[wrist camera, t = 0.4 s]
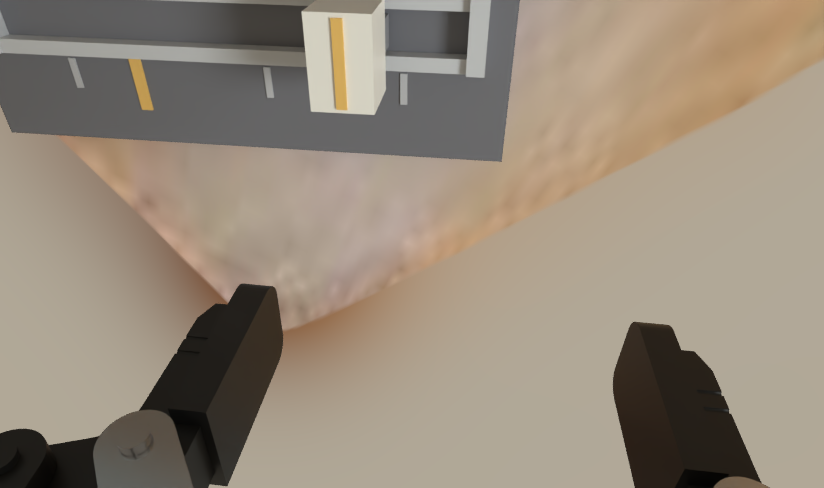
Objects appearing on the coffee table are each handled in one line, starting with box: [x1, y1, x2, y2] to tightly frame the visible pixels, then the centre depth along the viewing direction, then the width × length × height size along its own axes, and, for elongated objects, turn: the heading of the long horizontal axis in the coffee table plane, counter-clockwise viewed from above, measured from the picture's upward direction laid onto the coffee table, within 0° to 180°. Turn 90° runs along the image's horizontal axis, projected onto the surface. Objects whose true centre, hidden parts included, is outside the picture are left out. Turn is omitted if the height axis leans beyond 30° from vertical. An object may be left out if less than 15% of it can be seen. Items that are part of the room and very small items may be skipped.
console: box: [0, 0, 520, 162], centre depth 31 cm, size 15×32×3 cm, turn 89°
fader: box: [302, 0, 389, 115], centre depth 27 cm, size 4×3×7 cm
